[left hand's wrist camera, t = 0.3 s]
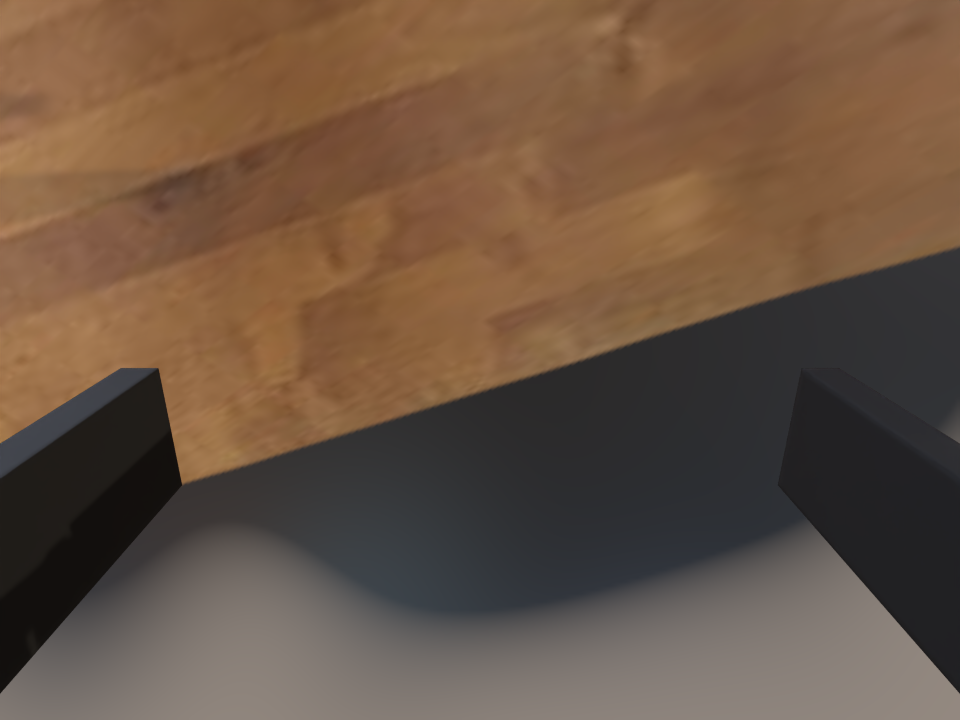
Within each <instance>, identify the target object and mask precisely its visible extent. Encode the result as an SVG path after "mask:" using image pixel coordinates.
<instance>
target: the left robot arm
mask: <svg viewBox="0 0 960 720" xmlns="http://www.w3.org/2000/svg"><path fill="white" fill-rule="evenodd" d="M181 486H182V482H181V477H180V472H179V467H178V462H177V458H176V453H175V448H174V443H173V438H172V433H171V428H170V423H169V418H168V413H167V408H166V403H165V398H164V393H163V388H162V384H161V379H160V374H159V369H158V368H120V369H119V370H117V371H116V372H114V373H112V374H111V375H109V376H108V377H106V378H104V379H103V380H101V381H100V382H98V383H96V384H95V385H93V386H92V387H90V388H88V389H87V390H85V391H84V392H82V393H80V394H79V395H77V396H76V397H74V398H72V399H71V400H69V401H68V402H66V403H64V404H63V405H61V406H60V407H58V408H56V409H55V410H53V411H52V412H50V413H48V414H47V415H45V416H44V417H42V418H41V419H39V420H37V421H36V422H34V423H33V424H31V425H29V426H28V427H26V428H25V429H23V430H21V431H20V432H18V433H17V434H15V435H13V436H12V437H10V438H9V439H7V440H5V441H4V442H2V443H1V444H0V693H1V692H2V691H3V690H4V689H5V687H6V686H7V685H8V684H9V683H10V682H11V681H12V679H13V678H14V677H15V676H16V675H17V674H18V673H19V671H20V670H21V669H22V668H23V667H24V666H25V665H26V663H27V662H28V661H29V660H30V659H31V658H32V656H33V655H34V654H35V653H36V652H37V651H38V650H39V648H40V647H41V646H42V645H43V644H44V643H45V642H46V640H47V639H48V638H49V637H50V636H51V635H52V634H53V632H54V631H55V630H56V629H57V628H58V627H59V626H60V624H61V623H62V622H63V621H64V620H65V619H66V618H67V616H68V615H69V614H70V613H71V612H72V611H73V610H74V608H75V607H76V606H77V605H78V604H79V603H80V601H81V600H82V599H83V598H84V597H85V596H86V595H87V593H88V592H89V591H90V590H91V589H92V588H93V587H94V585H95V584H96V583H97V582H98V581H99V580H100V579H101V577H102V576H103V575H104V574H105V573H106V572H107V571H108V569H109V568H110V567H111V566H112V565H113V564H114V562H115V561H116V560H117V559H118V558H119V557H120V556H121V554H122V553H123V552H124V551H125V550H126V549H127V548H128V546H129V545H130V544H131V543H132V542H133V541H134V540H135V538H136V537H137V536H138V535H139V534H140V533H141V532H142V530H143V529H144V528H145V527H146V526H147V525H148V524H149V522H150V521H151V520H152V519H153V518H154V517H155V516H156V514H157V513H158V512H159V511H160V510H161V509H162V508H163V506H164V505H165V504H166V503H167V502H168V501H169V500H170V498H171V497H172V496H173V495H174V494H175V493H176V492H177V490H178V489H179V488H180V487H181ZM778 486H779V487H780V488H781V489H782V490H783V492H784V493H785V494H786V495H787V496H788V497H789V498H790V500H791V501H792V502H793V503H794V504H795V505H796V506H797V508H798V509H799V510H800V511H801V512H802V513H803V514H804V516H805V517H806V518H807V519H808V520H809V521H810V522H811V523H812V525H813V526H814V527H815V528H816V529H817V530H818V532H819V533H820V534H821V535H822V536H823V537H824V538H825V540H826V541H827V542H828V543H829V544H830V545H831V546H832V548H833V549H834V550H835V551H836V552H837V553H838V555H839V556H840V557H841V558H842V559H843V560H844V561H845V563H846V564H847V565H848V566H849V567H850V568H851V569H852V571H853V572H854V573H855V574H856V575H857V576H858V577H859V579H860V580H861V581H862V582H863V583H864V584H865V585H866V587H867V588H868V589H869V590H870V591H871V592H872V593H873V595H874V596H875V597H876V598H877V599H878V600H879V601H880V603H881V604H882V605H883V606H884V607H885V608H886V610H887V611H888V612H889V613H890V614H891V615H892V616H893V618H894V619H895V620H896V621H897V622H898V623H899V624H900V626H901V627H902V628H903V629H904V630H905V631H906V632H907V634H908V635H909V636H910V637H911V638H912V639H913V640H914V642H915V643H916V644H917V645H918V646H919V647H920V648H921V650H922V651H923V652H924V653H925V654H926V655H927V656H928V658H929V659H930V660H931V661H932V662H933V663H934V665H935V666H936V667H937V668H938V669H939V670H940V671H941V673H942V674H943V675H944V676H945V677H946V678H947V679H948V681H949V682H950V683H951V684H952V685H953V686H954V687H955V688H956V690H957V691H958V692H959V693H960V444H959V443H958V442H956V441H955V440H953V439H951V438H950V437H948V436H947V435H945V434H943V433H942V432H940V431H939V430H937V429H935V428H934V427H932V426H931V425H929V424H927V423H926V422H924V421H923V420H921V419H919V418H918V417H916V416H915V415H913V414H911V413H910V412H908V411H907V410H905V409H903V408H902V407H900V406H899V405H897V404H895V403H894V402H892V401H891V400H889V399H888V398H886V397H884V396H883V395H881V394H880V393H878V392H876V391H875V390H873V389H871V388H870V387H868V386H867V385H865V384H863V383H862V382H860V381H859V380H857V379H856V378H854V377H852V376H851V375H849V374H847V373H846V372H844V371H843V370H841V369H839V368H802V369H801V374H800V379H799V384H798V389H797V393H796V398H795V403H794V408H793V413H792V418H791V423H790V428H789V433H788V438H787V443H786V448H785V453H784V458H783V463H782V467H781V472H780V477H779V482H778Z"/></svg>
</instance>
